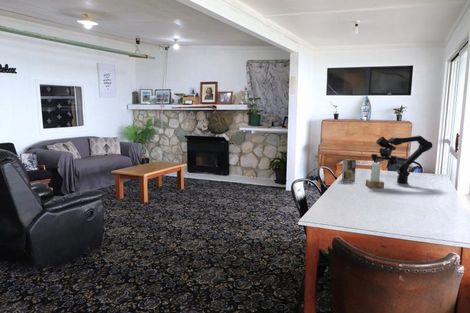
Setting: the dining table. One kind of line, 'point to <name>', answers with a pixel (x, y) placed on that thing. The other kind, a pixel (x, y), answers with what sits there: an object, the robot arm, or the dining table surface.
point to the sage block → (375, 172)
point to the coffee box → (348, 169)
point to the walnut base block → (374, 184)
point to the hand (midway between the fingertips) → (380, 167)
